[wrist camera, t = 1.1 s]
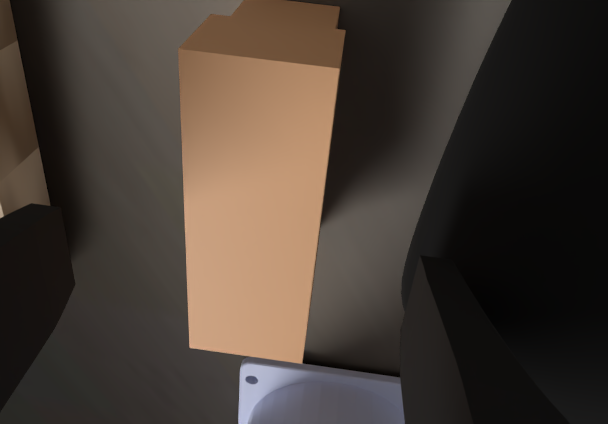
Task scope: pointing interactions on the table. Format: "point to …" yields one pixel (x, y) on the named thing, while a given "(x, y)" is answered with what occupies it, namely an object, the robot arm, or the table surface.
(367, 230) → the table surface
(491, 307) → the black cylindrical speaker
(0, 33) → the rail
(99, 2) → the table surface
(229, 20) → the clip
